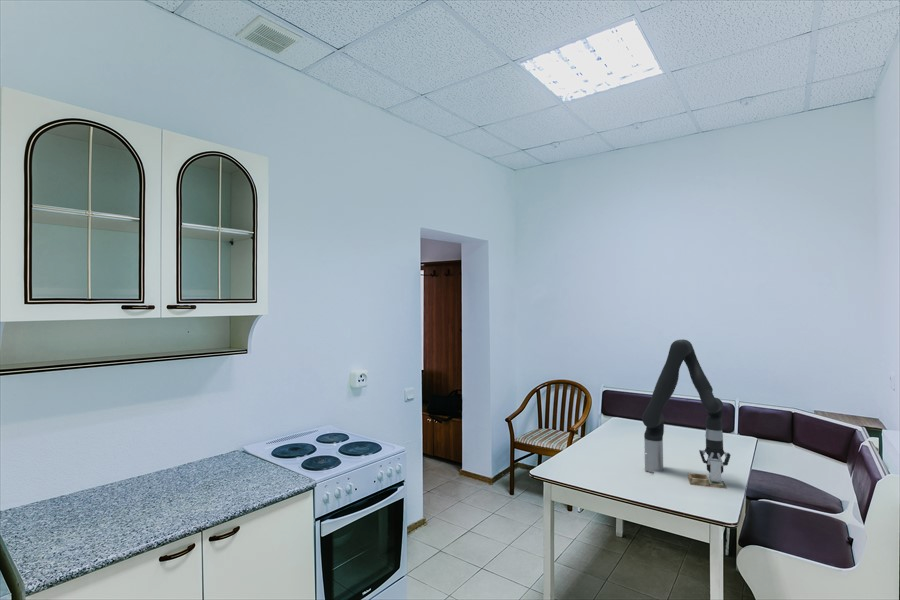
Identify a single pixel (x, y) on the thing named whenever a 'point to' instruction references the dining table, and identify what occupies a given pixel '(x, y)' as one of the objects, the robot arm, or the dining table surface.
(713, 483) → the brown compartment tray
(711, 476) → the block
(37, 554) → the dining table surface
